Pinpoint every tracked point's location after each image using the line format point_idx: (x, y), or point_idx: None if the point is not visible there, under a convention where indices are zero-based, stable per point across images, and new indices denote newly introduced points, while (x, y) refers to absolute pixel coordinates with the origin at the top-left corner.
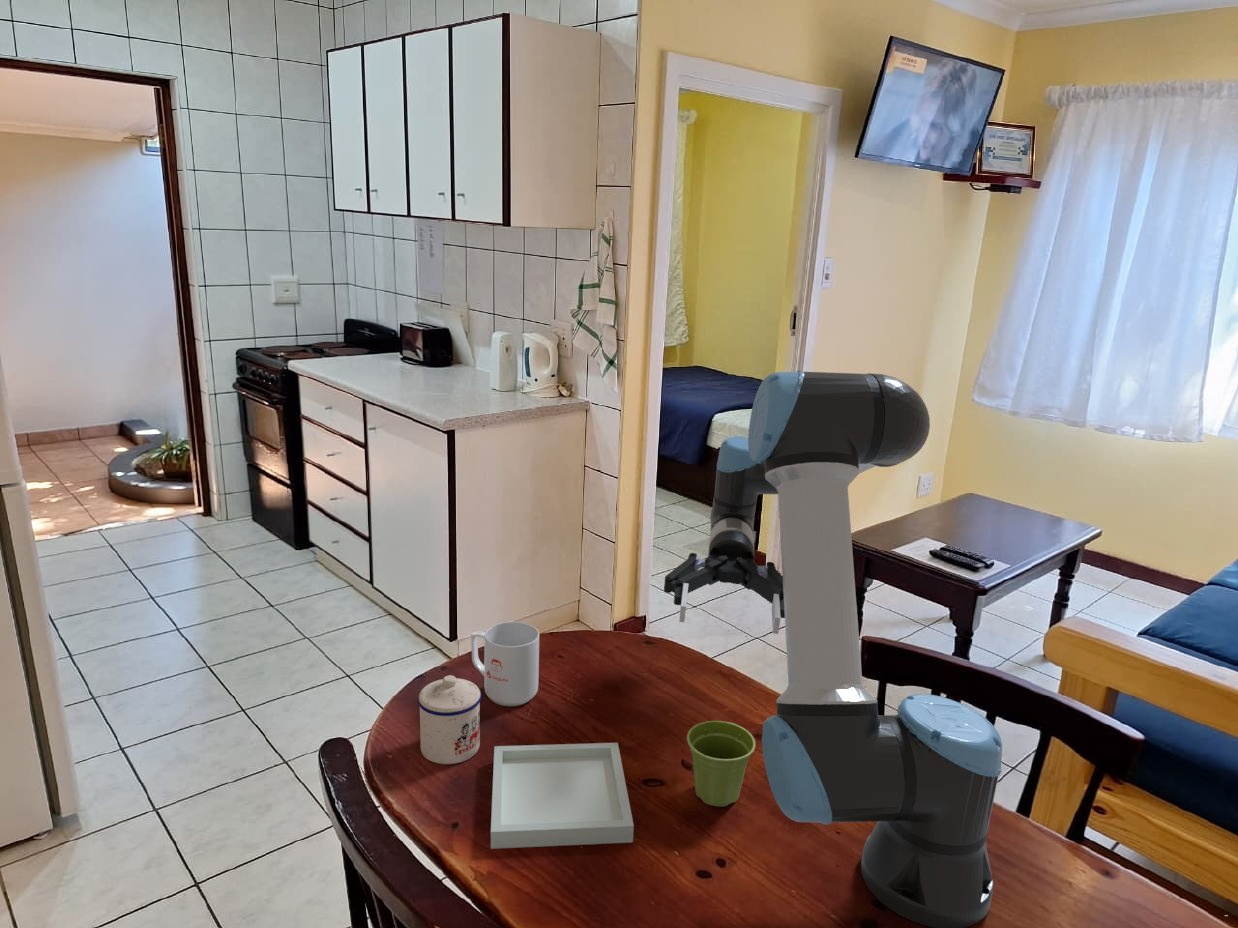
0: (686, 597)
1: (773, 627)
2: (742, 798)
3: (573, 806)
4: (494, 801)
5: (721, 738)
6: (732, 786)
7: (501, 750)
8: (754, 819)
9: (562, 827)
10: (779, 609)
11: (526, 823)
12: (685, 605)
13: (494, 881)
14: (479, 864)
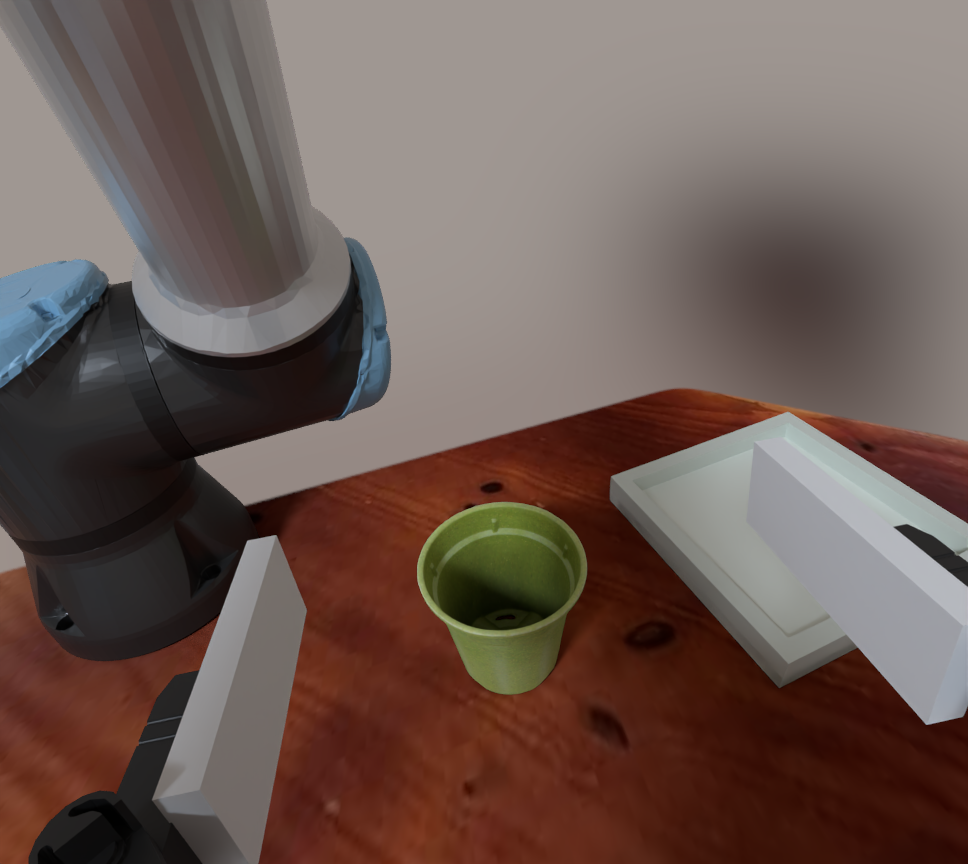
0: (815, 492)
1: (296, 602)
2: (454, 655)
3: (735, 507)
4: (841, 448)
5: (513, 645)
6: (469, 585)
7: None
8: (426, 607)
9: (706, 444)
10: (227, 602)
11: None
12: (763, 446)
13: (732, 407)
14: (771, 416)
